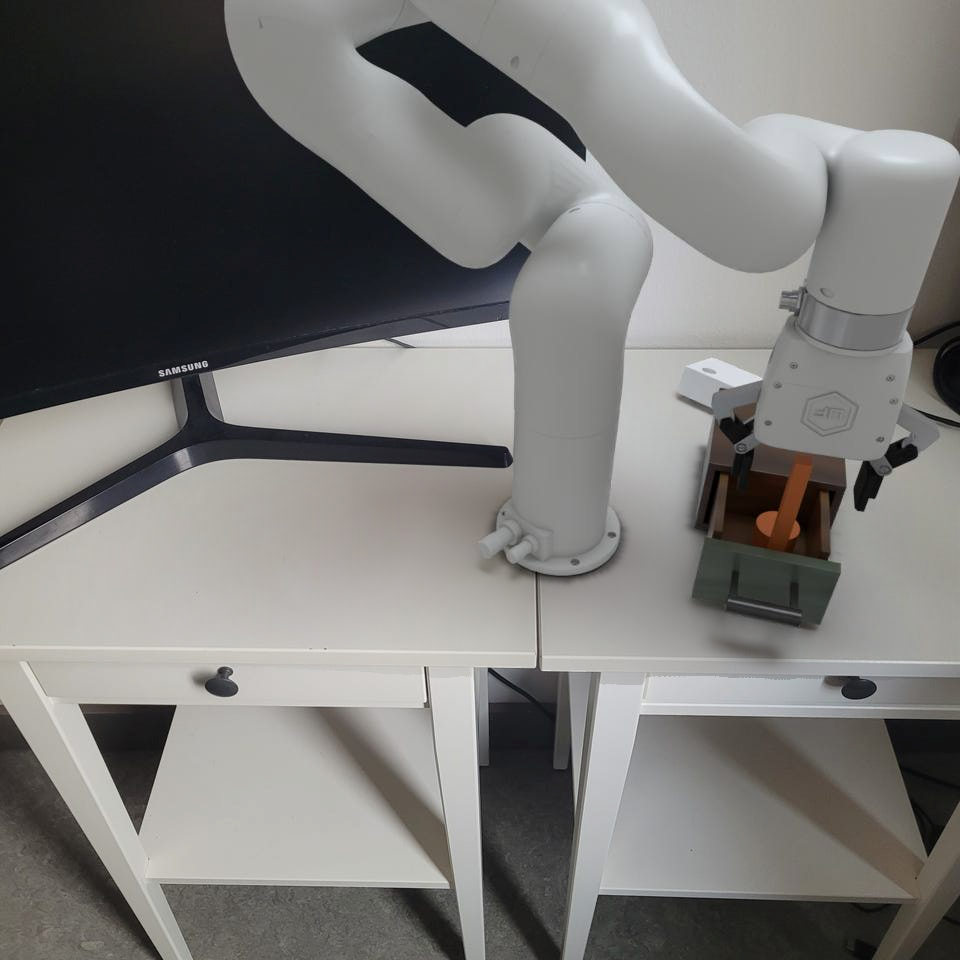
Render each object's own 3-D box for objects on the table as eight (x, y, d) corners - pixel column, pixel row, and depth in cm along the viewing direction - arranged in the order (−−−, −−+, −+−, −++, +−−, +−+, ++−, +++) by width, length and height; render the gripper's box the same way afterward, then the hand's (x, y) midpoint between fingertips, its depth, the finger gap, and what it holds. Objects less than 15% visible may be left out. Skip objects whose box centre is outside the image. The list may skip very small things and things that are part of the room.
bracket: (797, 423, 99) (820, 365, 96) (772, 435, 94) (795, 375, 91) (704, 382, 106) (722, 327, 103) (677, 392, 101) (695, 334, 98)
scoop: (792, 576, 76) (829, 469, 68) (748, 567, 77) (779, 460, 69) (792, 537, 80) (828, 431, 72) (750, 529, 81) (781, 424, 72)
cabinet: (822, 552, 81) (847, 486, 76) (694, 527, 84) (708, 462, 79) (820, 469, 91) (842, 405, 86) (706, 449, 94) (719, 387, 88)
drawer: (820, 665, 70) (843, 613, 65) (685, 635, 72) (698, 583, 68) (818, 532, 82) (837, 480, 78) (703, 510, 85) (714, 459, 80)
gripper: (727, 323, 59) (692, 501, 70) (991, 355, 55) (910, 539, 66) (734, 278, 65) (701, 449, 75) (974, 304, 60) (902, 481, 71)
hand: (798, 491), depth 71 cm, fingers open, 9 cm apart
